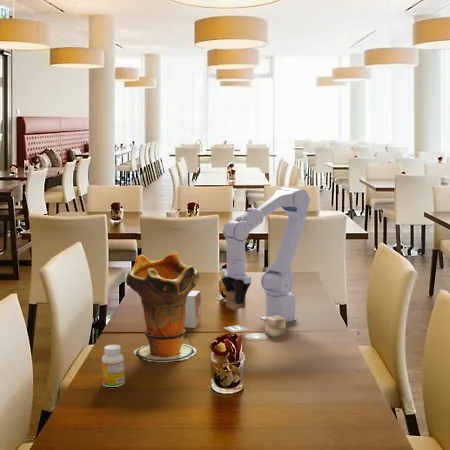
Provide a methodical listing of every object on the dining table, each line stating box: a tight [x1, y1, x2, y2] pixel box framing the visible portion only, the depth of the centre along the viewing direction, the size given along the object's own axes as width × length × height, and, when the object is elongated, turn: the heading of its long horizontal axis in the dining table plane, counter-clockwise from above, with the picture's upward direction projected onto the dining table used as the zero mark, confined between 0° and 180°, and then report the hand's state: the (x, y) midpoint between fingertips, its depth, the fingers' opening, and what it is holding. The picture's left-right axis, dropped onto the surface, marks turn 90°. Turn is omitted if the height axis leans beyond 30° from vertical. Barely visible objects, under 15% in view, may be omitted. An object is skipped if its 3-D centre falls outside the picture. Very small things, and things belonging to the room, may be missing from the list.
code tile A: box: [223, 324, 250, 333], centre depth 220 cm, size 6×6×1 cm
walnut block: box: [225, 290, 246, 310], centre depth 218 cm, size 4×4×5 cm
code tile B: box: [262, 331, 289, 339], centre depth 214 cm, size 6×6×1 cm
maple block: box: [264, 315, 287, 338], centre depth 214 cm, size 4×4×5 cm
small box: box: [184, 290, 202, 329], centre depth 224 cm, size 8×6×10 cm
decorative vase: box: [125, 251, 201, 363], centre depth 195 cm, size 21×23×28 cm
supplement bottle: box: [101, 344, 125, 388], centre depth 172 cm, size 5×5×10 cm
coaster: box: [244, 332, 269, 342], centre depth 210 cm, size 7×7×1 cm
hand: (235, 301), depth 218 cm, fingers closed on walnut block, 4 cm apart
